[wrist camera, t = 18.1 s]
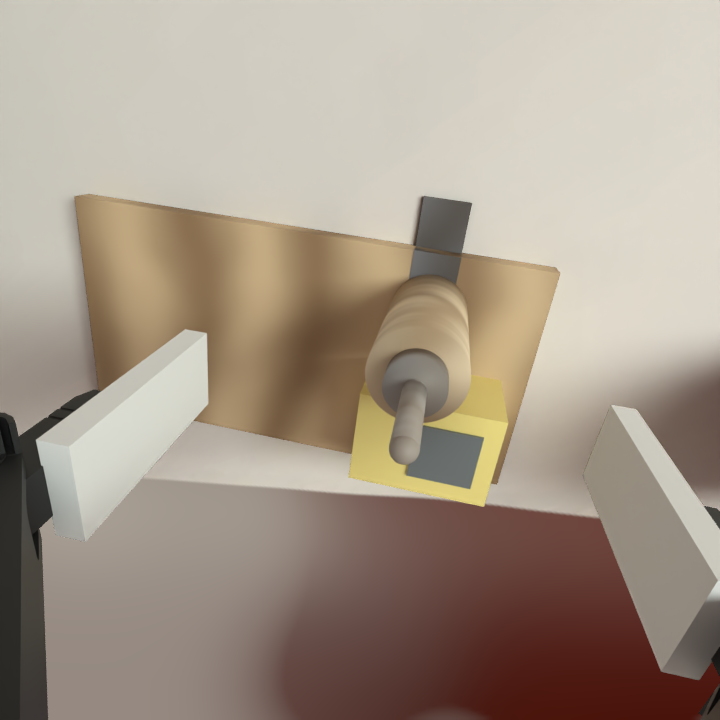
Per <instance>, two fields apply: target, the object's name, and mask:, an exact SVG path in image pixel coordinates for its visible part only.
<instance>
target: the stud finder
mask: <svg viewBox="0 0 720 720" xmlns="http://www.w3.org/2000/svg"><path fill="white" fill-rule="evenodd" d="M394 422H395V417H393V416H391V415H389V414H388V413H386V412H385V411H384V410H382V409H381V408H380V407H379V406H378V405H377V404H376V402H375V401H374V400H373V398H372V397H371V395H370V393H369V391H368V388H367V385H366V381H365V383H364V385H363V388H362V390H361V393H360V398H359V405H358V413H357V420H356V427H355V434H354V442H353V449H352V456H351V463H350V471H349V478H354V479H358V480H363V481H368V482H372V483H377V484H381V485H386V486H391V487H395V488H400V489H404V490H409V491H413V492H418V493H423V494H427V495H432V496H436V497H441V498H446V499H450V500H455V501H459V502H464V503H469V504H474V505H478V506H482V507H484V504H485V501H486V498H487V494H488V491H489V487H490V484H491V481H492V477H493V474H494V470H495V467H496V464H497V460H498V457H499V454H500V450H501V447H502V443H503V440H504V437H505V433H506V430H507V426H508V418H507V412H506V407H505V401H504V395H503V390H502V384H501V380H496V379H491V378H485V377H480V376H475V375H471V384H470V389H469V392H468V394H467V396H466V398H465V400H464V401H463V403H462V404H461V405H460V407H459V408H458V409H457V410H455V411H454V412H453V413H452V414H450V415H449V416H447V417H445V418H443V419H440V420H437V421H434V422H429V423H423V429H422V437H421V445H420V452H419V456H418V457H417V459H416V460H415V461H414V462H412V463H411V464H407V465H401V464H398V463H396V462H395V461H394V460H393V459H392V458H391V456H390V454H389V444H390V439H391V435H392V431H393V426H394Z"/></svg>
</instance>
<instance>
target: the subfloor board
mask: <svg viewBox="0 0 720 720" xmlns="http://www.w3.org/2000/svg"><path fill="white" fill-rule="evenodd" d="M75 204H76V212H77V220H78V228H79V236H80V244H81V252H82V260H83V268H84V276H85V284H86V292H87V300H88V308H89V316H90V324H91V332H92V340H93V348H94V356H95V364H96V372H97V380H98V388H99V391H103V390H104V389H105V388H107V387H108V386H109V385H111V384H112V383H113V382H115V381H116V380H117V379H119V378H120V377H121V376H123V375H124V374H125V373H127V372H128V371H130V370H131V369H132V368H134V367H135V366H136V365H138V364H139V363H140V362H142V361H143V360H144V359H146V358H147V357H148V356H150V355H151V354H152V353H154V352H155V351H157V350H158V349H159V348H161V347H162V346H163V345H165V344H166V343H167V342H169V341H170V340H171V339H173V338H174V337H175V336H177V335H178V334H179V333H181V332H182V331H184V330H185V329H187V330H192V331H198V332H204V333H207V362H208V405H207V406H206V407H205V408H204V409H203V410H202V411H201V412H200V414H199V415H198V416H197V417H196V418H195V419H194V420H193V421H198V422H203V423H207V424H212V425H217V426H222V427H226V428H231V429H236V430H241V431H245V432H250V433H255V434H260V435H264V436H269V437H274V438H279V439H283V440H288V441H293V442H298V443H302V444H307V445H312V446H317V447H321V448H326V449H331V450H336V451H340V452H345V453H350V454H352V449H353V442H354V434H355V427H356V420H357V413H358V405H359V398H360V393H361V390H362V388H363V385H364V383H365V367H366V362H367V359H368V356H369V354H370V352H371V349H372V347H373V345H374V342H375V340H376V338H377V335H378V333H379V330H380V328H381V326H382V323H383V321H384V319H385V316H386V314H387V311H388V309H389V307H390V304H391V302H392V300H393V297H394V295H395V293H396V292H397V290H398V289H399V288H400V287H401V285H402V284H404V283H405V282H406V281H408V280H409V279H411V278H414V277H416V276H419V275H426V274H432V275H438V276H442V277H445V278H447V279H449V280H450V281H452V282H453V283H455V284H456V285H457V286H458V287H459V289H460V290H461V291H462V293H463V295H464V297H465V299H466V303H467V309H468V328H469V347H470V366H471V375H475V376H480V377H485V378H491V379H496V380H501V384H502V390H503V395H504V401H505V407H506V412H507V418H508V426H507V430H506V433H505V437H504V440H503V443H502V447H501V450H500V454H499V457H498V460H497V464H496V467H495V470H494V474H493V477H492V481H491V483H492V484H497V483H498V479H499V476H500V473H501V469H502V466H503V463H504V459H505V456H506V453H507V449H508V446H509V443H510V439H511V436H512V433H513V429H514V426H515V423H516V419H517V416H518V413H519V409H520V406H521V403H522V399H523V396H524V393H525V389H526V386H527V383H528V379H529V376H530V373H531V369H532V366H533V363H534V360H535V356H536V353H537V350H538V346H539V343H540V340H541V336H542V333H543V330H544V326H545V323H546V320H547V316H548V313H549V310H550V306H551V303H552V300H553V296H554V293H555V290H556V286H557V283H558V280H559V276H560V272H559V271H558V270H557V268H555V267H548V266H542V265H536V264H529V263H523V262H517V261H510V260H504V259H498V258H491V257H485V256H479V255H472V254H466V253H462V249H463V244H464V239H465V234H466V230H467V225H468V220H469V215H470V210H471V206H472V203H468V202H461V201H455V200H448V199H441V198H434V197H427V196H424V198H423V204H422V210H421V216H420V222H419V228H418V234H417V240H416V246H415V245H409V244H403V243H396V242H390V241H384V240H377V239H371V238H364V237H358V236H352V235H345V234H339V233H333V232H326V231H320V230H314V229H307V228H301V227H295V226H288V225H282V224H276V223H269V222H263V221H257V220H250V219H244V218H238V217H231V216H225V215H219V214H212V213H206V212H200V211H193V210H187V209H181V208H174V207H168V206H161V205H155V204H149V203H142V202H136V201H130V200H123V199H117V198H111V197H104V196H98V195H92V194H87V195H80V196H75Z"/></svg>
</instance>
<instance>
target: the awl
mask: <svg viewBox="0 0 720 720" xmlns="http://www.w3.org/2000/svg"><path fill="white" fill-rule="evenodd" d="M365 381H366V385H367V388H368V391H369V393H370V395H371V397H372V398H373V400H374V401H375V402H376V404H377V405H378V406H379V407H380V408H381V409H382V410H384V411H385V412H386V413H388V414H389V415H391V416H393V417H395V422H394V426H393V431H392V435H391V439H390V444H389V454H390V456H391V458H392V459H393V460H394V461H395V462H396V463H398V464H401V465H407V464H411V463H412V462H414V461H415V460H416V459H417V457H418V456H419V452H420V445H421V437H422V429H423V423H429V422H434V421H437V420H440V419H443V418H445V417H447V416H449V415H450V414H452V413H453V412H454V411H455V410H457V409H458V408H459V407H460V405H461V404H462V403H463V401H464V400H465V398H466V396H467V394H468V392H469V389H470V384H471V366H470V347H469V328H468V309H467V303H466V299H465V297H464V295H463V293H462V291H461V290H460V289H459V287H458V286H457V285H456V284H455V283H453V282H452V281H450V280H449V279H447V278H445V277H442V276H438V275H432V274H426V275H419V276H416V277H414V278H411V279H409V280H408V281H406V282H405V283H404V284H402V285H401V287H400V288H399V289H398V290H397V292H396V293H395V295H394V297H393V300H392V302H391V304H390V307H389V309H388V311H387V314H386V316H385V319H384V321H383V323H382V326H381V328H380V330H379V333H378V335H377V338H376V340H375V342H374V345H373V347H372V349H371V352H370V354H369V356H368V359H367V362H366V367H365Z"/></svg>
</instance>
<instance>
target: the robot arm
mask: <svg viewBox="0 0 720 720" xmlns="http://www.w3.org/2000/svg"><path fill="white" fill-rule="evenodd" d="M207 405H208V362H207V333H204V332H198V331H192V330H187V329H185V330H184V331H182V332H181V333H179V334H178V335H177V336H175V337H174V338H173V339H171V340H170V341H169V342H167V343H166V344H165V345H163V346H162V347H161V348H159V349H158V350H157V351H155V352H154V353H152V354H151V355H150V356H148V357H147V358H146V359H144V360H143V361H142V362H140V363H139V364H138V365H136V366H135V367H134V368H132V369H131V370H130V371H128V372H127V373H125V374H124V375H123V376H121V377H120V378H119V379H117V380H116V381H115V382H113V383H112V384H111V385H109V386H108V387H107V388H105V389H104V390H103V391H98V390H92V391H89V392H87V393H84V394H82V395H79V396H76V397H74V398H73V399H71V400H70V401H69V402H67V403H66V404H64V405H63V406H62V407H61V408H60V409H57V410H56V411H54V412H53V413H52V414H50V415H49V417H48V418H47V417H46V418H44V419H43V420H42V421H40V422H39V423H37V424H36V425H35V426H33V427H32V428H30V429H29V430H27V431H26V432H25V433H23V434H22V435H20V436H19V437H18V432H17V428H16V423H15V421H14V419H13V417H12V416H10V415H8V414H6V413H0V720H48V706H47V680H46V650H45V622H44V594H43V565H42V539H41V534H40V530H39V528H40V527H41V526H42V525H43V524H44V523H45V522H47V521H48V520H49V519H50V518H51V517H52V520H53V525H54V529H55V535H57V536H62V537H66V538H70V539H75V540H79V541H84V542H86V541H87V539H88V538H89V537H90V536H91V535H92V534H93V533H94V532H95V531H96V529H97V528H98V527H99V526H100V525H101V524H102V523H103V521H104V520H105V519H106V518H107V517H108V516H109V515H110V514H111V513H112V511H113V510H114V509H115V508H116V507H117V506H118V505H119V504H120V502H121V501H122V500H123V499H124V498H125V497H126V496H127V495H128V493H129V492H130V491H131V490H132V489H133V488H134V487H135V486H136V484H137V483H138V482H139V481H140V480H141V479H142V478H143V477H144V475H145V474H146V473H147V472H148V471H149V470H150V469H151V468H152V466H153V465H154V464H155V463H156V462H157V461H158V460H159V459H160V457H161V456H162V455H163V454H164V453H165V452H166V451H167V450H168V448H169V447H170V446H171V445H172V444H173V443H174V442H175V441H176V439H177V438H178V437H179V436H180V435H181V434H182V433H183V432H184V430H185V429H186V428H187V427H188V426H189V425H190V424H191V423H192V421H193V420H194V419H195V418H196V417H197V416H198V415H199V414H200V412H201V411H202V410H203V409H204V408H205V407H206V406H207ZM583 477H584V480H585V482H586V485H587V487H588V490H589V492H590V495H591V497H592V500H593V502H594V505H595V507H596V510H597V512H598V515H599V517H600V520H601V522H602V525H603V527H604V530H605V532H606V535H607V537H608V540H609V542H610V544H611V547H612V550H613V552H614V555H615V557H616V560H617V562H618V565H619V567H620V570H621V572H622V575H623V577H624V579H625V582H626V585H627V587H628V590H629V592H630V595H631V597H632V600H633V602H634V604H635V607H636V610H637V612H638V614H639V617H640V619H641V622H642V624H643V627H644V630H645V632H646V635H647V637H648V640H649V642H650V644H651V647H652V650H653V652H654V655H655V657H656V660H657V662H658V665H659V667H660V669H661V672H665V673H670V674H675V675H678V676H684V677H688V678H692V679H696V680H700V678H701V677H702V675H703V674H704V672H705V671H706V670H707V668H708V666H709V665H710V664H711V662H713V664H714V666H715V668H716V670H717V672H718V674H719V676H720V511H719V510H718V509H716V508H712V507H706V506H703V505H702V503H701V502H700V500H699V499H698V497H697V496H696V494H695V493H694V492H693V490H692V489H691V487H690V486H689V484H688V483H687V481H686V480H685V479H684V477H683V476H682V474H681V473H680V471H679V470H678V468H677V467H676V466H675V464H674V463H673V461H672V460H671V458H670V457H669V455H668V454H667V453H666V451H665V450H664V448H663V447H662V445H661V444H660V442H659V441H658V440H657V438H656V437H655V435H654V434H653V432H652V431H651V429H650V428H649V427H648V425H647V424H646V422H645V421H644V419H643V418H642V417H641V415H640V414H639V412H638V411H637V409H633V408H627V407H621V406H616V405H610V408H609V410H608V413H607V415H606V418H605V420H604V423H603V425H602V428H601V431H600V433H599V436H598V438H597V441H596V443H595V446H594V448H593V451H592V453H591V456H590V458H589V461H588V463H587V466H586V468H585V471H584V473H583ZM699 714H701V715H702V718H701V720H720V684H719V685H718V687H717V688H716V689H715V691H714V692H713V694H712V695H711V696H710V698H709V699H708V701H707V702H706V704H705V705H704V706H703V708H702V709H701V710H700V712H699Z"/></svg>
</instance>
